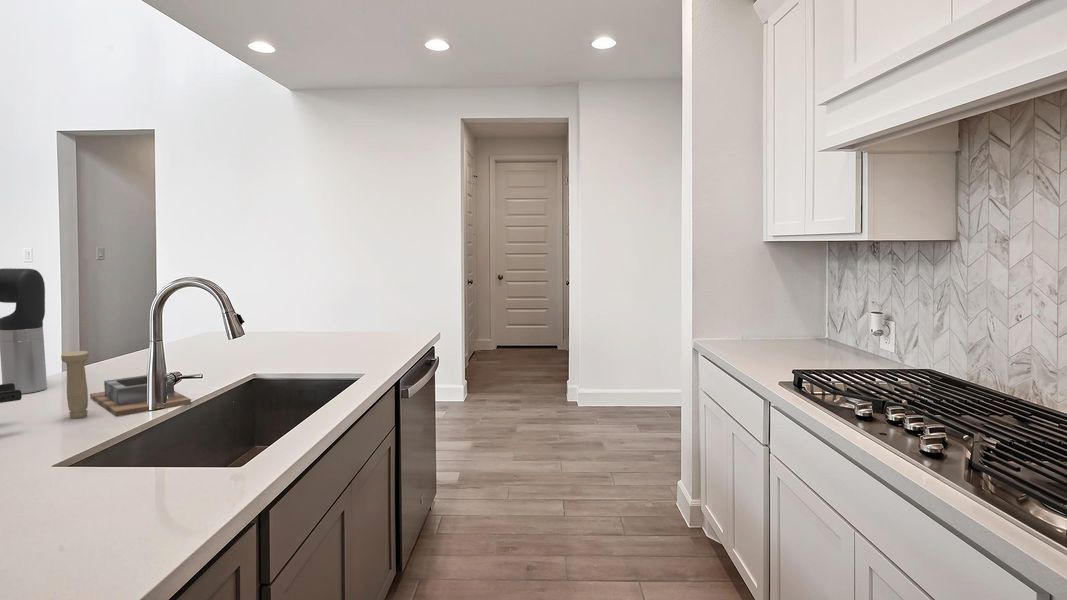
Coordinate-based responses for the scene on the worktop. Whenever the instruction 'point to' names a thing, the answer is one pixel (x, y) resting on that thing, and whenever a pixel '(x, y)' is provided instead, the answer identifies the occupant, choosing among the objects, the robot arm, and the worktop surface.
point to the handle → (76, 383)
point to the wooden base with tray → (133, 396)
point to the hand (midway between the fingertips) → (17, 391)
